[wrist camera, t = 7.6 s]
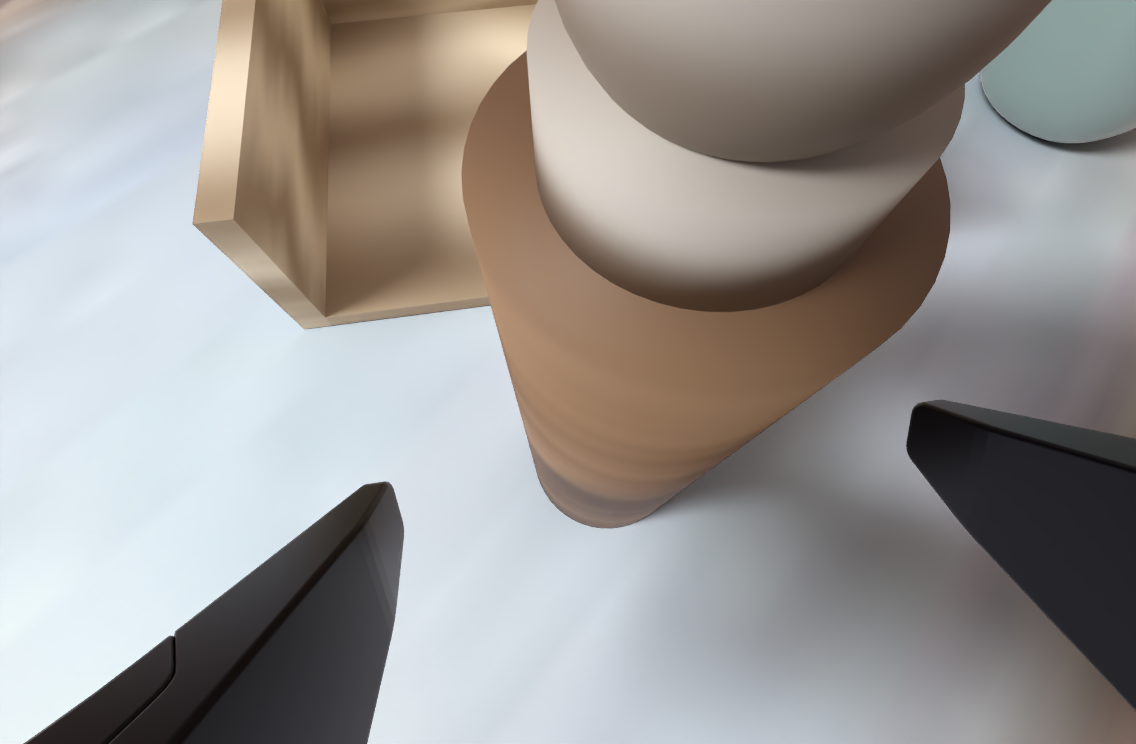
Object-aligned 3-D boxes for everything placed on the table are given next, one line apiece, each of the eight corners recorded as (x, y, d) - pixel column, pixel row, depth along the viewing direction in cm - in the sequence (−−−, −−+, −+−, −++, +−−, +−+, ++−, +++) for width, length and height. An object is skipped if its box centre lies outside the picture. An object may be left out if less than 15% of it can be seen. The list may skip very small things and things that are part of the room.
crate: (839, 260, 20) (946, 136, 14) (304, 328, 19) (192, 224, 13) (730, -16, 26) (776, -182, 20) (315, 24, 24) (241, -140, 19)
